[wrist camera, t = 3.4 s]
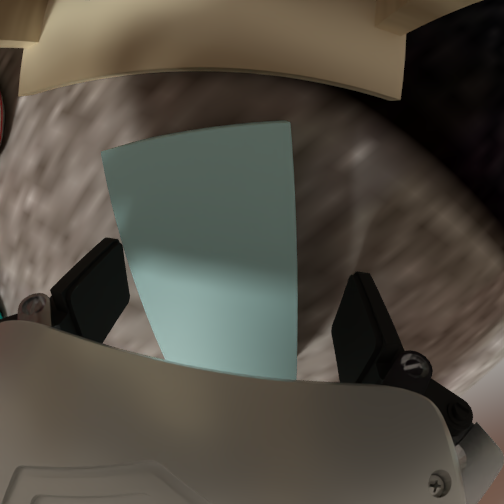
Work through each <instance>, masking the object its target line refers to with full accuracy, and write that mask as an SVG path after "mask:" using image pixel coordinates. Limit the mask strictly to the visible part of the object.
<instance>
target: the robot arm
mask: <svg viewBox="0 0 504 504" xmlns="http://www.w3.org/2000/svg"><path fill="white" fill-rule="evenodd" d="M50 291H51V294H52V296H51V297H50V298H49V297H48V296H47V295H45V294H43V293H36V294H32V295H29V296H28V297H26V298H25V299H24V300H22V302H21V303H20V305H19V308H18V314H15V315H12V316H9V317H5V318H2V319H0V504H477V503H478V502H479V500H480V499H481V498H482V496H483V495H484V494H485V492H486V491H487V489H488V488H489V487H490V485H491V484H492V482H493V481H494V479H495V478H496V476H497V475H498V473H499V471H500V470H501V468H502V466H503V463H504V457H503V453H502V451H501V450H500V448H499V447H498V446H497V445H496V443H495V442H494V441H493V440H492V439H491V438H490V436H489V435H488V434H487V433H486V432H485V431H484V430H483V429H482V427H481V426H480V425H479V424H478V423H477V422H476V423H475V424H473V423H472V420H473V414H472V410H471V407H470V406H469V405H468V403H467V402H466V401H464V400H463V399H461V398H460V397H458V396H457V395H455V394H454V393H452V392H451V391H449V390H448V389H446V388H445V387H443V386H442V385H440V384H439V383H437V382H436V381H434V380H433V379H431V377H432V372H433V370H432V366H431V364H430V362H429V360H428V359H427V358H426V357H425V356H423V355H422V354H420V353H418V352H416V351H404V349H403V346H402V344H401V341H400V339H399V336H398V334H397V332H396V329H395V327H394V325H393V322H392V320H391V318H390V315H389V313H388V311H387V309H386V306H385V304H384V302H383V300H382V298H381V296H380V293H379V291H378V289H377V287H376V285H375V283H374V281H373V279H372V277H371V275H370V273H363V272H355V274H354V275H350V277H349V279H348V282H347V285H346V288H345V291H344V294H343V297H342V300H341V303H340V306H339V308H338V311H337V314H336V317H335V319H334V322H333V325H332V330H331V332H332V338H333V344H334V349H335V355H336V361H337V367H338V373H339V379H340V383H338V382H318V381H304V380H291V379H280V378H271V377H262V376H254V375H246V374H239V373H232V372H226V371H219V370H213V369H208V368H202V367H197V366H191V365H186V364H181V363H177V362H172V361H167V360H163V359H159V358H154V357H150V356H146V355H142V354H138V353H134V352H130V351H127V350H123V349H119V348H116V347H112V346H109V345H106V344H102V343H103V341H104V340H105V338H106V337H107V335H108V333H109V332H110V330H111V329H112V327H113V326H114V324H115V322H116V321H117V319H118V318H119V316H120V315H121V313H122V312H123V310H124V309H125V307H126V306H127V304H128V302H129V299H130V294H129V288H128V281H127V275H126V268H125V261H124V253H123V246H122V244H121V243H120V242H119V240H118V239H112V238H104V239H103V240H102V241H101V242H100V243H99V244H97V245H96V246H95V247H94V248H93V249H92V250H91V251H90V252H89V253H87V254H86V255H85V256H84V257H83V258H82V259H81V260H80V261H79V262H78V263H77V264H76V265H75V266H74V267H73V268H72V269H71V270H69V271H68V272H67V273H66V274H65V275H64V276H63V277H62V278H61V279H60V280H59V281H58V282H57V283H56V284H55V285H54V286H53V287H52V288H51V290H50Z"/></svg>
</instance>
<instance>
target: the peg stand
mask: <svg viewBox="0 0 504 504" xmlns="http://www.w3.org/2000/svg"><path fill="white" fill-rule="evenodd" d="M479 1H482V0H0V48H24V50H23V57H22V64H21V72H20V81H19V93H18V97H20V96H29V95H34V94H38V93H41V92H45V91H48V90H52V89H56V88H60V87H64V86H68V85H73V84H77V83H82V82H87V81H93V80H98V79H104V78H111V77H118V76H126V75H135V74H145V73H158V72H180V71H217V72H238V73H252V74H263V75H272V76H280V77H287V78H294V79H301V80H307V81H312V82H318V83H323V84H328V85H332V86H337V87H341V88H346V89H350V90H354V91H358V92H362V93H365V94H369V95H373V96H376V97H379V98H383V99H386V100H389V101H393V100H401V92H402V84H403V74H404V63H405V48H406V33H408V32H410V31H412V30H414V29H416V28H418V27H420V26H422V25H425V24H427V23H429V22H431V21H433V20H435V19H437V18H440V17H442V16H444V15H446V14H449V13H451V12H453V11H456V10H458V9H461V8H463V7H466V6H468V5H471V4H474V3H477V2H479Z"/></svg>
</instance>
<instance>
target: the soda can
mask: <svg viewBox="0 0 504 504" xmlns="http://www.w3.org/2000/svg"><path fill="white" fill-rule="evenodd" d="M4 122H5V111H4V103H3V99H2V95H1V92H0V145H1V142H2V138H3V132H4Z"/></svg>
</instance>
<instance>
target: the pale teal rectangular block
mask: <svg viewBox="0 0 504 504" xmlns="http://www.w3.org/2000/svg"><path fill="white" fill-rule="evenodd" d="M101 156H102V161H103V166H104V171H105V176H106V181H107V186H108V190H109V194H110V199H111V203H112V207H113V211H114V215H115V219H116V222H117V226H118V230H119V233H120V237H121V240H122V244H123V247H124V250H125V254H126V257H127V260H128V263H129V266H130V270H131V273H132V276H133V279H134V281H135V284H136V287H137V290H138V293H139V296H140V298H141V301H142V304H143V307H144V309H145V312H146V314H147V317H148V320H149V322H150V325H151V327H152V330H153V332H154V334H155V337H156V339H157V342H158V344H159V346H160V349H161V351H162V353H163V355H164V358H165V360H167V361H172V362H177V363H181V364H186V365H191V366H197V367H202V368H208V369H213V370H219V371H226V372H232V373H239V374H246V375H254V376H262V377H271V378H280V379H291V380H296V373H297V309H298V302H297V236H296V208H295V186H294V168H293V152H292V137H291V124H290V122H288V121H286V120H281V121H265V122H253V123H242V124H232V125H224V126H216V127H208V128H201V129H195V130H189V131H183V132H177V133H171V134H166V135H161V136H156V137H152V138H148V139H144V140H140V141H136V142H132V143H129V144H125V145H122V146H118V147H115V148H112V149H108V150H105V151H102V152H101Z"/></svg>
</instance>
